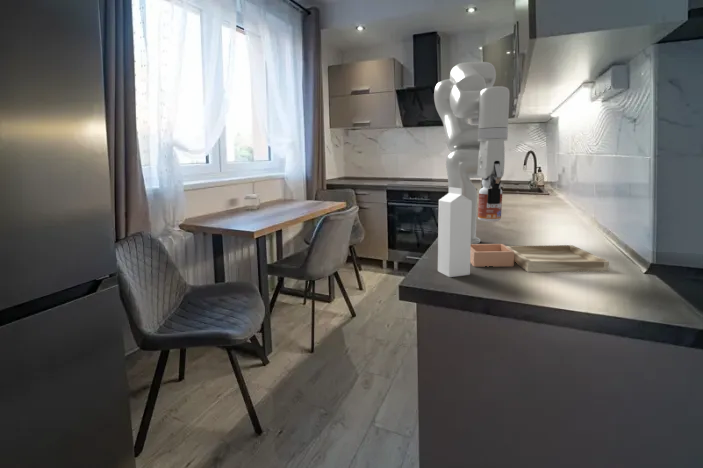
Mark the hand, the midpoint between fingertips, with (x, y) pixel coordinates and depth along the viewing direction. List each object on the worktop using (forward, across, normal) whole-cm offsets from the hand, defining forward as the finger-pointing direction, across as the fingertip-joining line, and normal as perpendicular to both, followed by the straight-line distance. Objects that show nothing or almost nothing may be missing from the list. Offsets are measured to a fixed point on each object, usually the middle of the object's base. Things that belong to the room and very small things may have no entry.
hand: (490, 201), depth 115 cm
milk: (+17, +12, -12) cm, 24 cm away
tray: (+17, +2, +17) cm, 24 cm away
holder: (+17, +1, 0) cm, 17 cm away
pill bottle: (+5, 0, 0) cm, 5 cm away
